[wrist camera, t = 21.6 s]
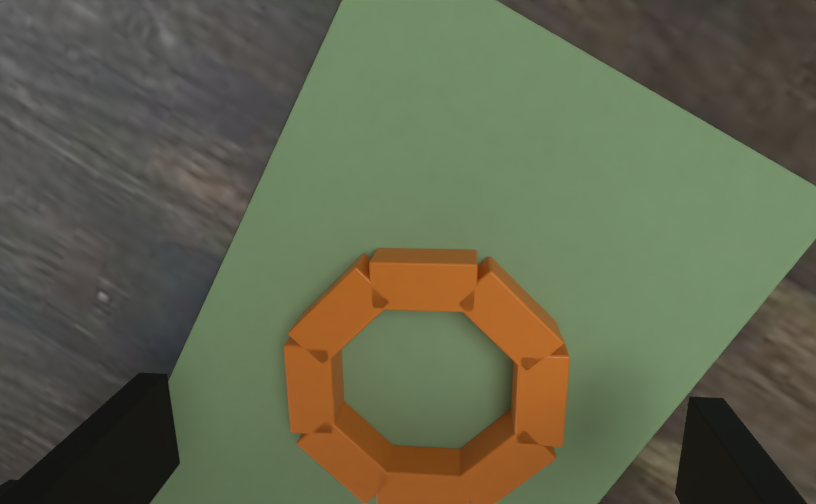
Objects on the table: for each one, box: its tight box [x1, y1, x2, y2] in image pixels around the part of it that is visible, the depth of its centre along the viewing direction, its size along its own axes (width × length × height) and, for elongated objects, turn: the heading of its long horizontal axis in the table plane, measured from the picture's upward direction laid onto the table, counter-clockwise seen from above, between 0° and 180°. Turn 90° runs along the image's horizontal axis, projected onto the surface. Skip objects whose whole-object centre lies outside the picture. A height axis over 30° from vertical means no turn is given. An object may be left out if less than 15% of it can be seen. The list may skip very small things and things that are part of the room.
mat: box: [150, 0, 816, 504], centre depth 18 cm, size 20×14×1 cm
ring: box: [283, 248, 570, 504], centre depth 17 cm, size 8×8×1 cm
